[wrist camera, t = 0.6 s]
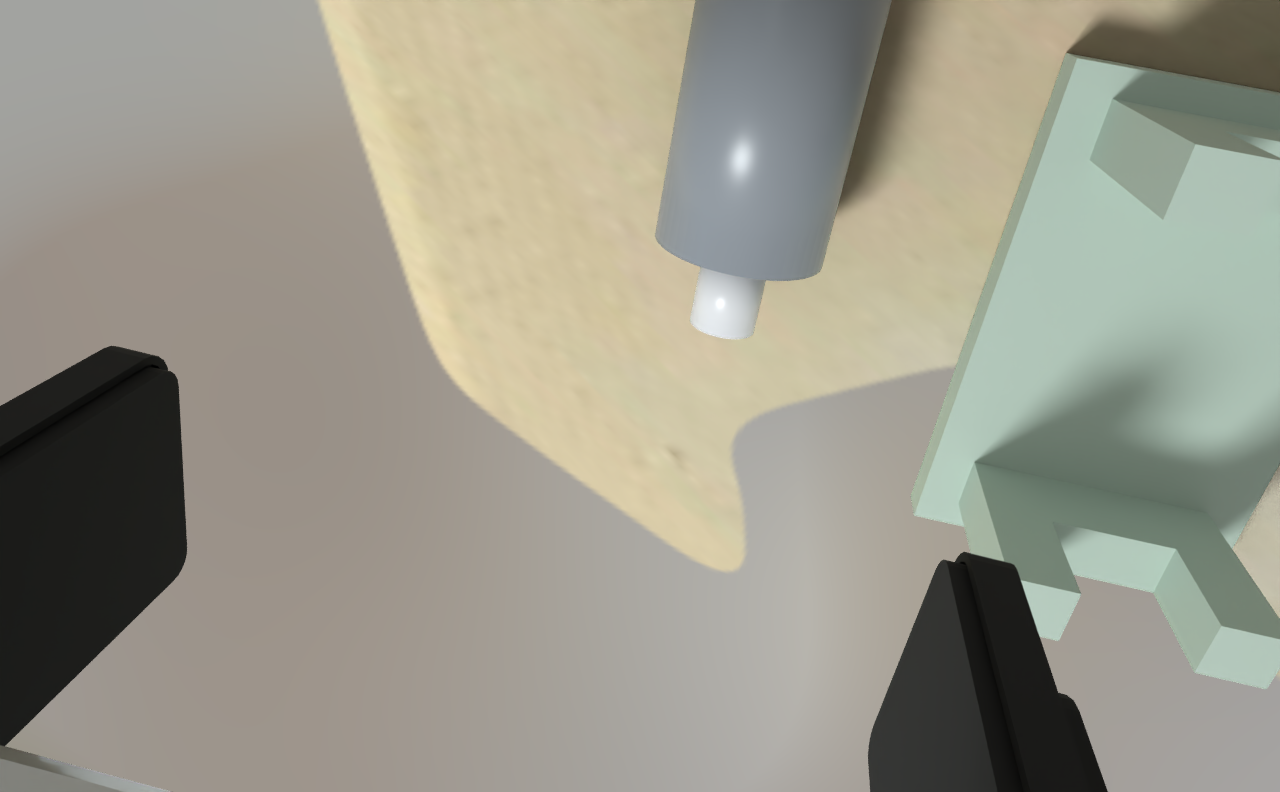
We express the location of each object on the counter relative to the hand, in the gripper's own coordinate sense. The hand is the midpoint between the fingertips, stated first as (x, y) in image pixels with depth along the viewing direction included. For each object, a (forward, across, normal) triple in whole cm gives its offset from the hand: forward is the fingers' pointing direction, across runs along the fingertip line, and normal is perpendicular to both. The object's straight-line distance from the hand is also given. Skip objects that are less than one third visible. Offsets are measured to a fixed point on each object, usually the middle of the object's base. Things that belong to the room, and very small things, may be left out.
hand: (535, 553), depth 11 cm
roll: (+26, -2, -2) cm, 26 cm away
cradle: (+26, -17, +3) cm, 31 cm away
